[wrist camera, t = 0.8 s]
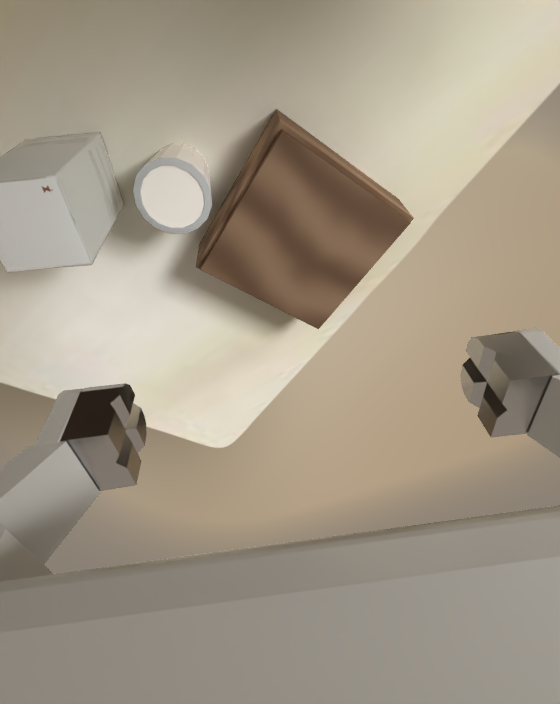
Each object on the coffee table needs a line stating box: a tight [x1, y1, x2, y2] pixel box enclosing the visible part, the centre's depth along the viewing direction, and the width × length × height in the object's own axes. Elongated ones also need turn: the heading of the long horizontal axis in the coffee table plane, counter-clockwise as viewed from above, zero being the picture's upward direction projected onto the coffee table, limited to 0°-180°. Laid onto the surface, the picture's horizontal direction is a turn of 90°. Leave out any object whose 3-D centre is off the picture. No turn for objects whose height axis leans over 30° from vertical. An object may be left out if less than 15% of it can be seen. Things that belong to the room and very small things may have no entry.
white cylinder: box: [133, 144, 212, 234], centre depth 40 cm, size 7×7×7 cm
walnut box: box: [196, 109, 414, 329], centre depth 44 cm, size 16×16×6 cm
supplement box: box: [0, 132, 124, 272], centre depth 37 cm, size 7×7×13 cm
